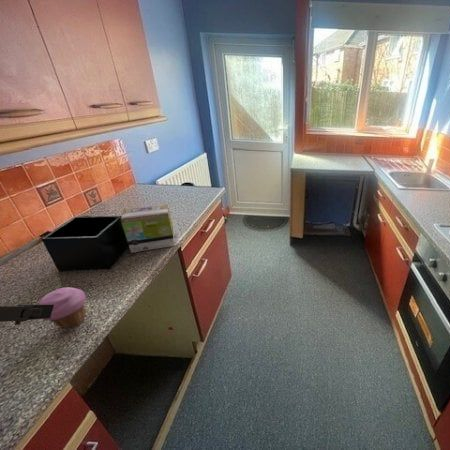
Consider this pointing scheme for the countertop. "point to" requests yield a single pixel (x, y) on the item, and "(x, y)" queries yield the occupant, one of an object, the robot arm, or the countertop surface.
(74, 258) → the waste bin
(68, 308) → the cupcake
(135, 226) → the tea box
